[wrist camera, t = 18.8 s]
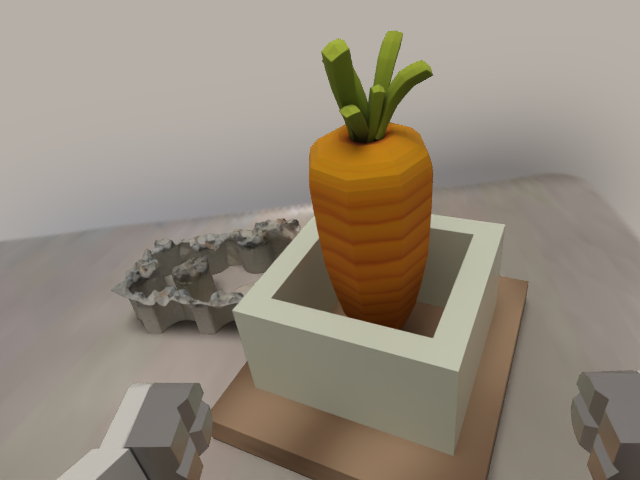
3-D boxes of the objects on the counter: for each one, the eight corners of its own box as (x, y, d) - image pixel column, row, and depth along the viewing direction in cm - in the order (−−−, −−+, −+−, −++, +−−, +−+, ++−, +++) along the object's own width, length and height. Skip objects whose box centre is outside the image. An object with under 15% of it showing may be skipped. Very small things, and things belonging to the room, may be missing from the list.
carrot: (398, 298, 27) (386, 5, 19) (452, 359, 23) (469, 25, 15) (316, 330, 26) (263, 33, 17) (359, 401, 22) (318, 63, 13)
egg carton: (314, 266, 34) (307, 215, 31) (289, 347, 28) (277, 292, 25) (173, 263, 36) (156, 215, 34) (121, 337, 30) (97, 286, 28)
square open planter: (255, 387, 23) (232, 310, 21) (336, 270, 30) (327, 199, 27) (453, 455, 19) (458, 372, 17) (496, 303, 26) (505, 224, 23)
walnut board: (212, 437, 23) (204, 418, 22) (335, 263, 33) (333, 245, 32) (472, 545, 18) (474, 525, 17) (525, 301, 28) (528, 281, 27)
